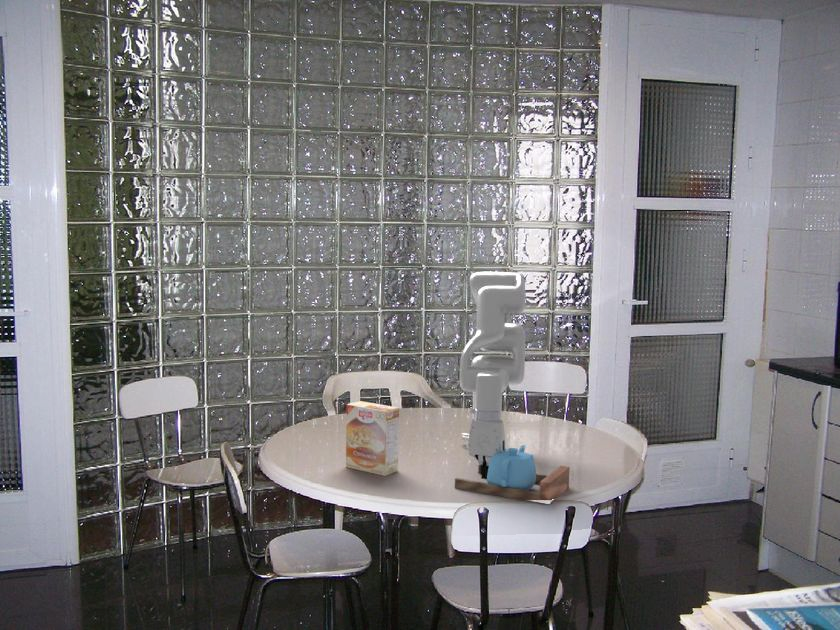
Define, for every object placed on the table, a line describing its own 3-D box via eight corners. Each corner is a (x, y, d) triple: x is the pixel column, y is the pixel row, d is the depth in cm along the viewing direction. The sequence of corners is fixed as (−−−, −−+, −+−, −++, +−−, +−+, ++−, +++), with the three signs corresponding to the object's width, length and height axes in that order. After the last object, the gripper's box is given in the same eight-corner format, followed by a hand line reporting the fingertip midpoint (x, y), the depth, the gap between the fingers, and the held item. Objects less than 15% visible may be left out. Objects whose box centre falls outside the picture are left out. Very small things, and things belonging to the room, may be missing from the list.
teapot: (542, 484, 228) (544, 444, 227) (524, 499, 212) (526, 457, 211) (501, 477, 233) (503, 439, 232) (480, 492, 217) (482, 450, 216)
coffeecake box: (344, 467, 239) (345, 404, 237) (359, 462, 245) (360, 400, 243) (384, 476, 231) (386, 411, 229) (398, 471, 237) (400, 406, 235)
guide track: (454, 487, 222) (455, 466, 221) (479, 472, 237) (480, 452, 237) (548, 505, 209) (549, 483, 209) (568, 487, 225) (569, 466, 224)
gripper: (458, 414, 225) (456, 477, 227) (507, 421, 218) (505, 486, 220) (469, 409, 232) (467, 470, 234) (517, 416, 225) (515, 478, 227)
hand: (485, 477), depth 227 cm, fingers closed
